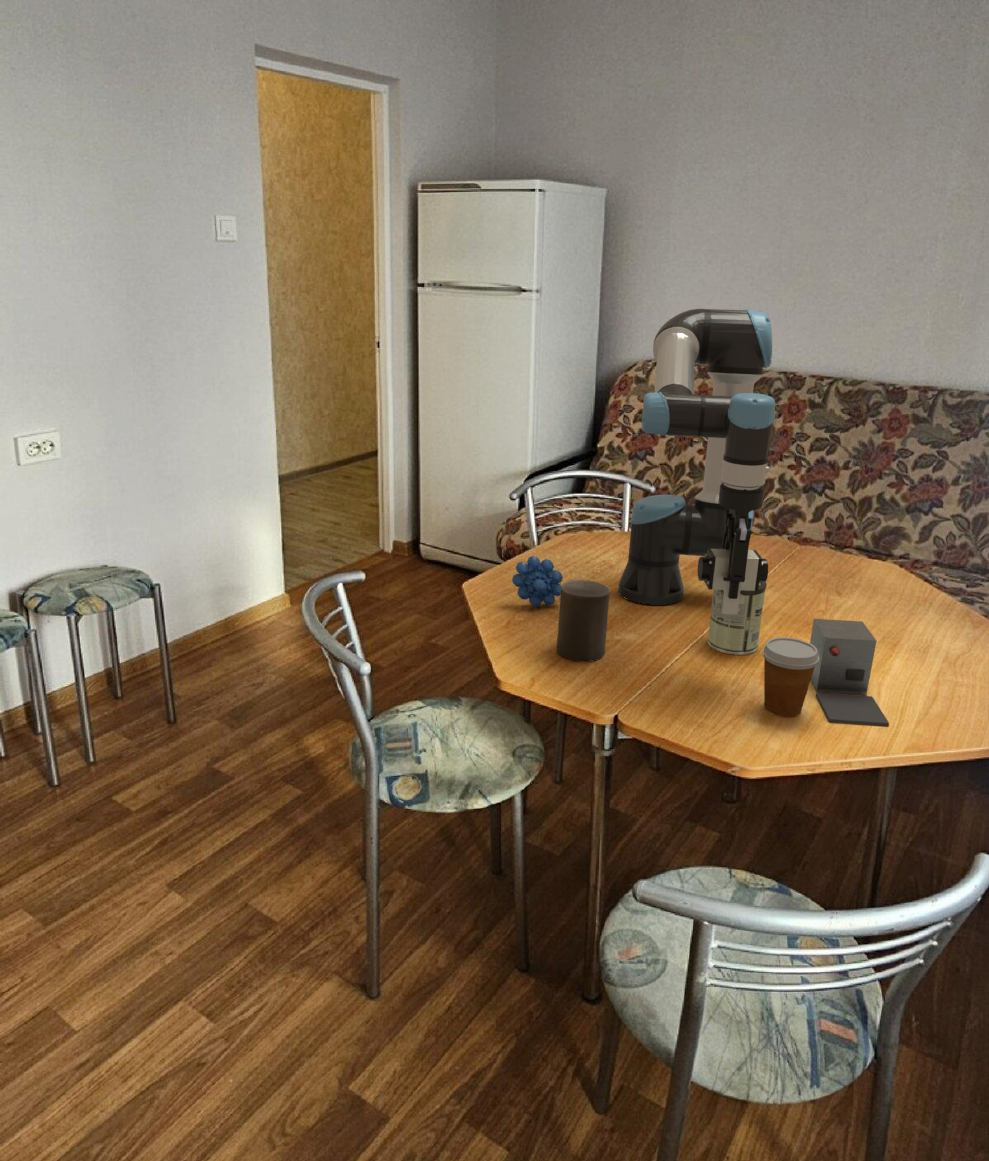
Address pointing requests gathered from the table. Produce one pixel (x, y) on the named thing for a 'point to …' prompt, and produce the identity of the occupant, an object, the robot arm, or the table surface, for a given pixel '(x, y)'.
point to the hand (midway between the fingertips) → (727, 606)
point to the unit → (842, 656)
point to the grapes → (537, 581)
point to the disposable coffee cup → (787, 674)
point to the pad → (851, 709)
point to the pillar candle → (583, 620)
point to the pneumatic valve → (717, 568)
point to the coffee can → (738, 625)
